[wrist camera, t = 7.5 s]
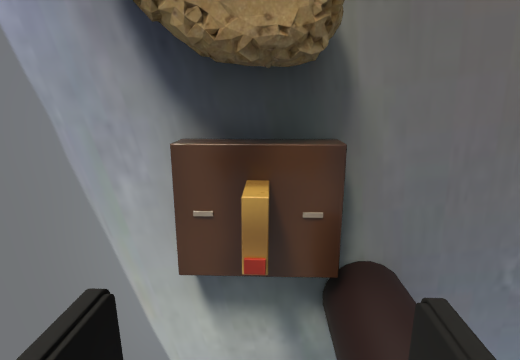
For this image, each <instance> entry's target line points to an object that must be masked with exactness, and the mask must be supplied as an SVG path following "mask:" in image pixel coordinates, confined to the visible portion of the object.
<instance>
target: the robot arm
mask: <svg viewBox="0 0 520 360" xmlns="http://www.w3.org/2000/svg"><path fill="white" fill-rule="evenodd" d="M17 360H123V354H122V347H121V340H120V332H119V326H118V318H117V310H116V303H115V297H114V295H113V294H110V292H109V291H108V290H107V289H87V290H86V291H85V292H84V293H83V294H82V295H81V296H80V297H79V298H78V299H77V300H76V301H75V302H74V303H73V304H72V305H71V306H70V307H69V308H68V309H67V310H66V311H65V312H64V313H63V314H62V315H61V316H60V317H59V318H58V319H57V320H56V321H55V322H54V323H53V324H52V325H51V326H50V327H49V328H48V329H47V330H46V331H45V332H44V333H43V334H42V335H41V336H40V337H39V338H38V339H37V340H36V341H35V342H34V343H33V344H32V345H31V346H29V348H28V349H27V350H25V351H24V353H22V354H21V356H20V357H18V358H17ZM408 360H496V359H495V357H494V356H493V355H492V354H491V353H490V352H489V351H488V349H487V348H486V347H485V346H484V345H483V343H482V342H481V341H480V340H479V339H478V337H477V336H476V335H475V334H474V333H473V331H472V330H471V329H470V328H469V327H468V325H467V324H466V323H465V322H464V321H463V319H462V318H461V317H460V316H459V315H458V313H457V312H456V311H455V310H454V309H453V307H452V306H451V305H450V304H449V303H448V301H447V300H445V299H443V298H423V299H422V301H421V303H417V304H416V306H415V313H414V320H413V328H412V335H411V343H410V350H409V358H408Z"/></svg>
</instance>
